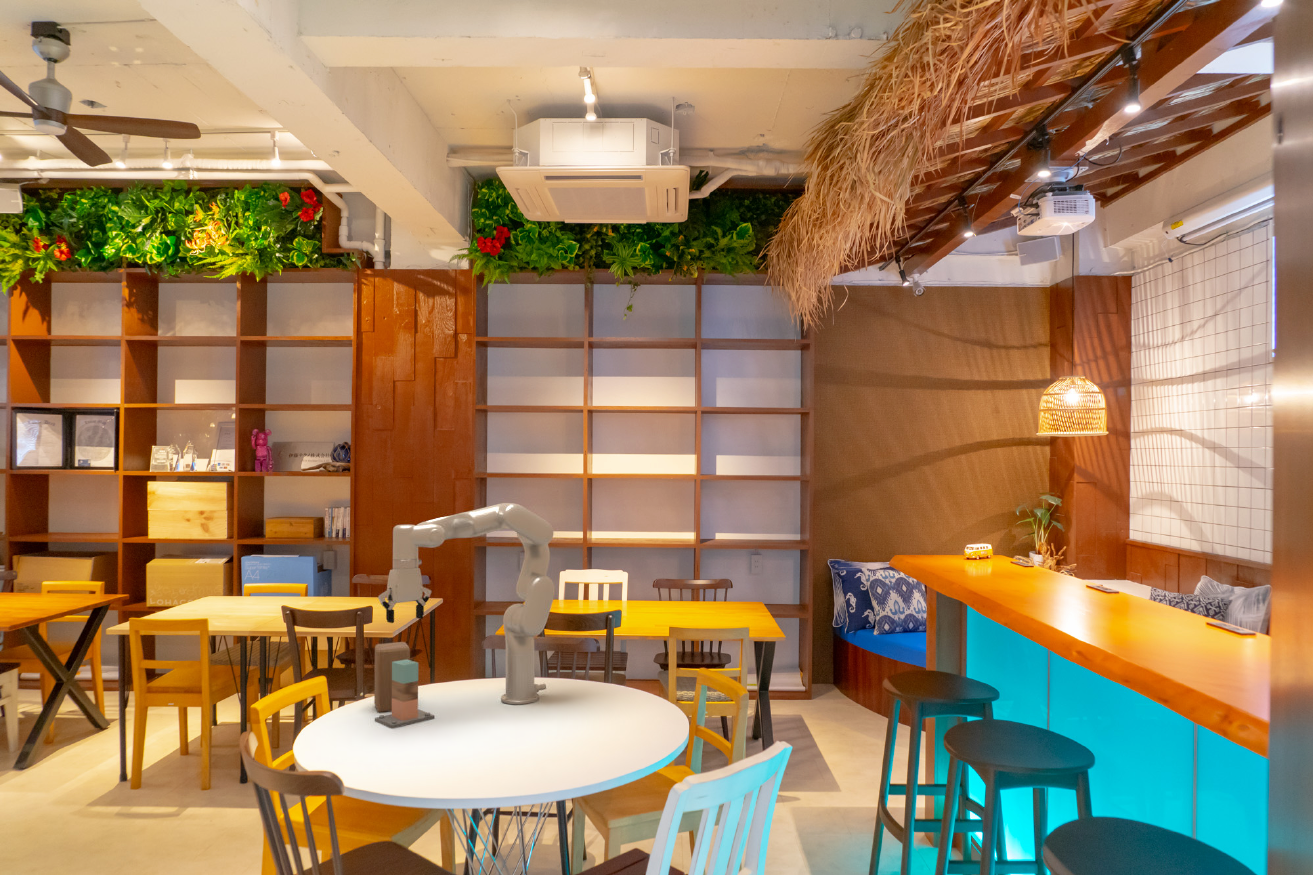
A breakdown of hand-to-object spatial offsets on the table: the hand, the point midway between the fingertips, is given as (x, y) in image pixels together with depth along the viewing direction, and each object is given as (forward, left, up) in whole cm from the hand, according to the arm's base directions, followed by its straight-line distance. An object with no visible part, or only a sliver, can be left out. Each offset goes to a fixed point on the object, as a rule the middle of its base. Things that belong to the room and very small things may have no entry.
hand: (405, 620), depth 255 cm
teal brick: (0, 0, -18) cm, 18 cm away
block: (-4, -16, -31) cm, 35 cm away
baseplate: (0, 0, -30) cm, 30 cm away
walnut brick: (0, 0, -24) cm, 24 cm away
